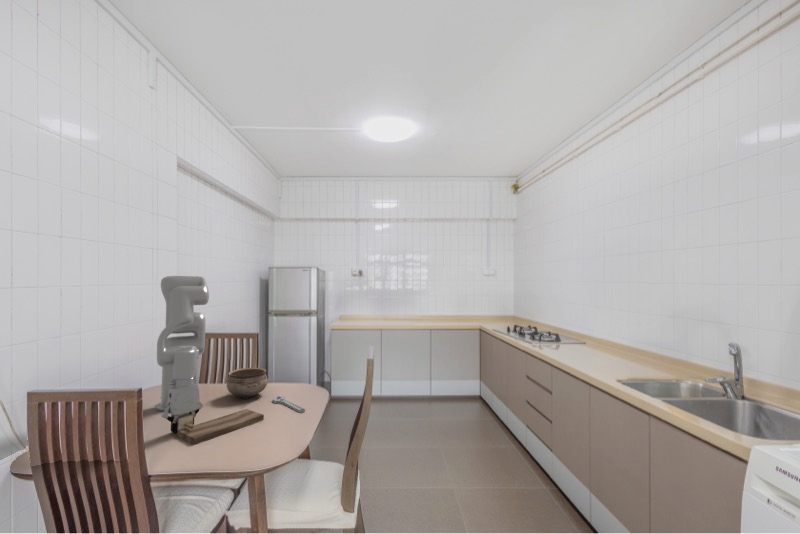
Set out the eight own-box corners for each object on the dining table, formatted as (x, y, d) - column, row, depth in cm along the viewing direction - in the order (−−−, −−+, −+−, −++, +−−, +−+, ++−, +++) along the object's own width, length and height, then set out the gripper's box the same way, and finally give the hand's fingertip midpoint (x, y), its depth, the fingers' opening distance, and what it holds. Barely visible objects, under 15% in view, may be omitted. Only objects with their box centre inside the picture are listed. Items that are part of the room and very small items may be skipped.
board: (177, 436, 132) (177, 430, 132) (246, 413, 156) (246, 408, 156) (194, 444, 126) (194, 438, 126) (263, 419, 149) (263, 414, 149)
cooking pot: (274, 399, 175) (274, 374, 175) (232, 407, 163) (233, 380, 164) (259, 387, 195) (260, 364, 195) (221, 393, 183) (222, 369, 184)
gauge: (172, 432, 136) (172, 416, 136) (186, 427, 140) (186, 412, 140) (184, 438, 130) (185, 421, 131) (198, 433, 135) (199, 417, 135)
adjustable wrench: (306, 413, 159) (306, 409, 159) (292, 416, 154) (293, 412, 154) (282, 398, 177) (282, 394, 177) (269, 401, 173) (269, 397, 173)
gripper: (164, 388, 128) (162, 440, 127) (211, 378, 142) (209, 425, 141) (154, 385, 132) (152, 435, 131) (201, 375, 146) (200, 421, 146)
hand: (182, 429), depth 136 cm, fingers closed on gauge, 5 cm apart
